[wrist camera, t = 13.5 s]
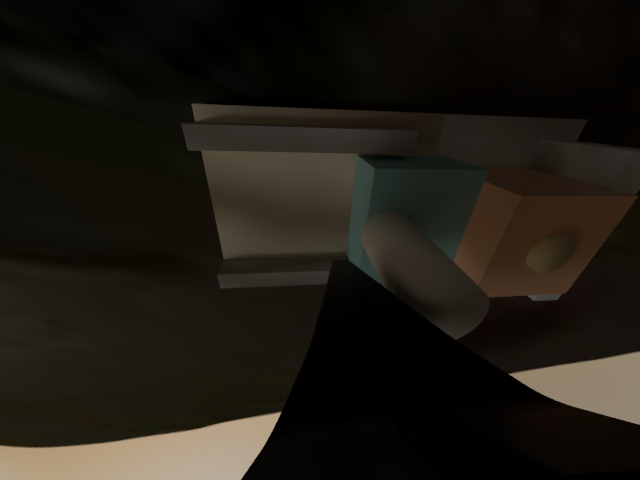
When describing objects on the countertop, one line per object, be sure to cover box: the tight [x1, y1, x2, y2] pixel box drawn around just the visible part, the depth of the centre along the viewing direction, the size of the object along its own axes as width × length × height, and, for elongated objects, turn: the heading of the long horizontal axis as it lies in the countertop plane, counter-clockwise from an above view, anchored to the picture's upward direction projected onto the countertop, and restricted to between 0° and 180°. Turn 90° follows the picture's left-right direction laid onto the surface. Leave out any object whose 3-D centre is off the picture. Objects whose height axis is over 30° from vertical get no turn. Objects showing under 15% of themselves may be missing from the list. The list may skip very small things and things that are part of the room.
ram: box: [346, 155, 489, 340], centre depth 10 cm, size 6×5×8 cm
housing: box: [453, 167, 638, 297], centre depth 12 cm, size 5×5×5 cm
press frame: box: [182, 104, 640, 301], centre depth 13 cm, size 10×20×6 cm, turn 88°
